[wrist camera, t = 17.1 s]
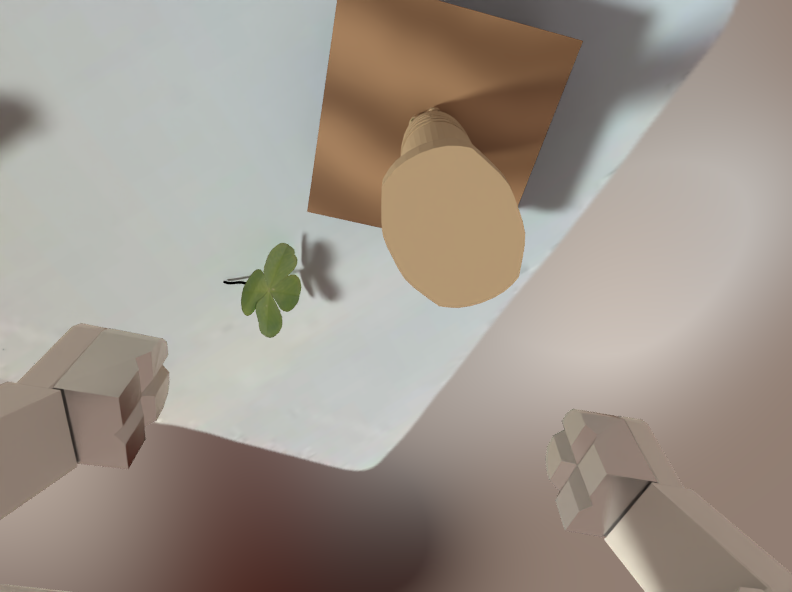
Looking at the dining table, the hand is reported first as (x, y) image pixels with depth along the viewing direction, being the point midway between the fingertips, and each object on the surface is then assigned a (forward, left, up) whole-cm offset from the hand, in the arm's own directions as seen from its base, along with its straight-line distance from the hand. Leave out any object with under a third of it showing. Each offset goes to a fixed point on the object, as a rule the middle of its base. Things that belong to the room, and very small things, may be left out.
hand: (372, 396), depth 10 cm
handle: (0, +3, -24) cm, 24 cm away
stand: (0, +3, -30) cm, 30 cm away
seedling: (+18, -12, -30) cm, 37 cm away
